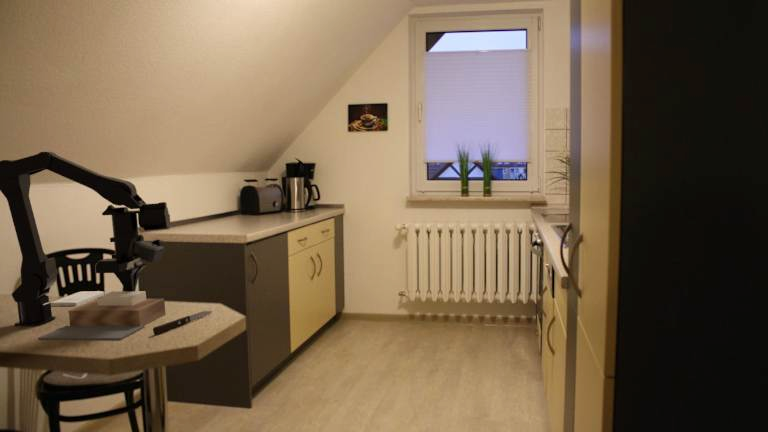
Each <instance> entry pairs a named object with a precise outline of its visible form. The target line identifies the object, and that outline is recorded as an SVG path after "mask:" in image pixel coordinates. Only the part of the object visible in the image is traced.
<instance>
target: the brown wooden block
mask: <svg viewBox="0 0 768 432" xmlns="http://www.w3.org/2000/svg"><path fill="white" fill-rule="evenodd" d="M165 304H166V301H165V298H146V300H143V301H141V302H139V303H137V304H134V305H126V306H98V301H97V299H93V301H92V300H91V301H90V302H89V301H88V302H86V303H83V304H81V305H80V306H79V305H78V306H76V307H74V308H71V309H68V318H69V326H144V327H145V326H146V325H149V324H150V323H152V322H154V321H156V320H157V319H160V318H162V317H163V316H164V317H165V316H166V305H165Z"/></svg>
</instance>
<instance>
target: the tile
mask: <svg viewBox="0 0 768 432" xmlns="http://www.w3.org/2000/svg"><path fill="white" fill-rule="evenodd" d="M146 299H147V293H146V290H143V291H142V290H137V291H136V290H135V291H126V290H125V291H121V290H120V291H117V290H116V291H110V292H108V293H104V295H102V296H100V297H97V298H96V300H97V301H98V306H126V305H134V304H137V303H139V302H141V301H143V300H146Z"/></svg>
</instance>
